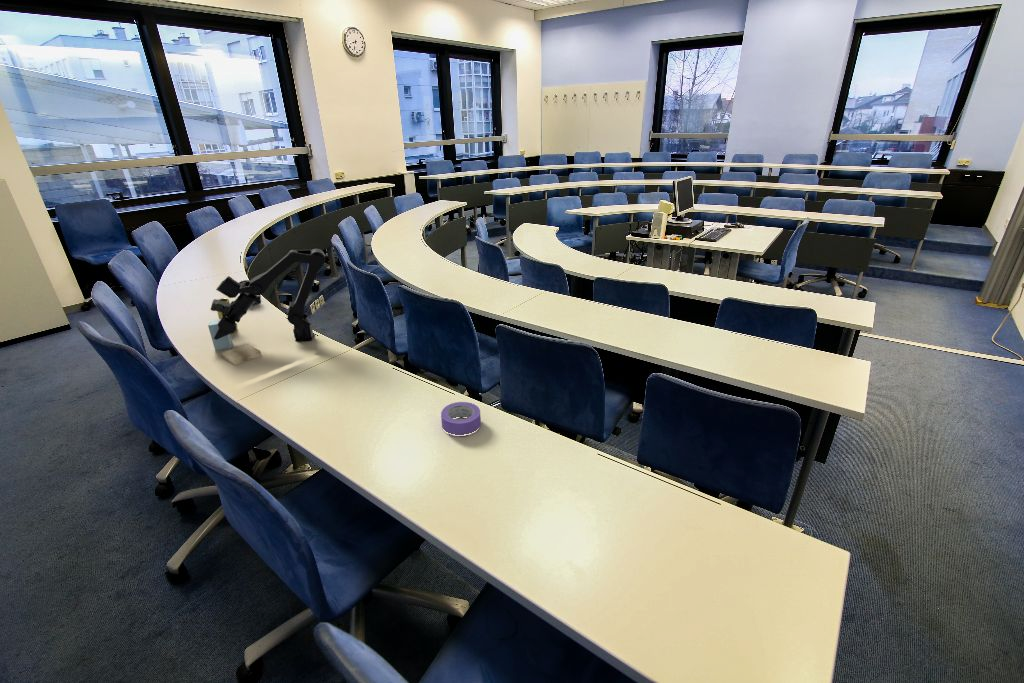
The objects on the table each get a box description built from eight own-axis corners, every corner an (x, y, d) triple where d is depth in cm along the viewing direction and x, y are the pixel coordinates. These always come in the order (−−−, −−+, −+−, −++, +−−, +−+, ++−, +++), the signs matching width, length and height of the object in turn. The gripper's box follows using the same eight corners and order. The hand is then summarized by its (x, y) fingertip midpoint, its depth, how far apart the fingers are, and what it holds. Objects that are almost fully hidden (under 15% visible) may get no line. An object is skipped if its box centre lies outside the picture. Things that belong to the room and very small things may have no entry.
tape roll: (434, 425, 142) (433, 411, 140) (463, 410, 150) (463, 397, 147) (458, 442, 134) (457, 428, 132) (488, 426, 142) (488, 412, 140)
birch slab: (249, 348, 185) (248, 343, 185) (261, 355, 180) (260, 350, 179) (222, 357, 178) (221, 352, 177) (234, 365, 173) (233, 360, 172)
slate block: (233, 345, 190) (226, 318, 185) (231, 351, 186) (224, 323, 181) (217, 347, 189) (210, 320, 183) (215, 353, 184) (207, 325, 179)
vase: (234, 327, 207) (226, 296, 201) (240, 330, 204) (232, 300, 198) (219, 331, 203) (210, 300, 197) (225, 335, 200) (216, 303, 194)
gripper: (224, 285, 187) (200, 314, 187) (218, 300, 171) (191, 332, 172) (251, 301, 193) (227, 330, 193) (247, 317, 177) (221, 348, 178)
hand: (216, 334), depth 184 cm, fingers open, 9 cm apart
